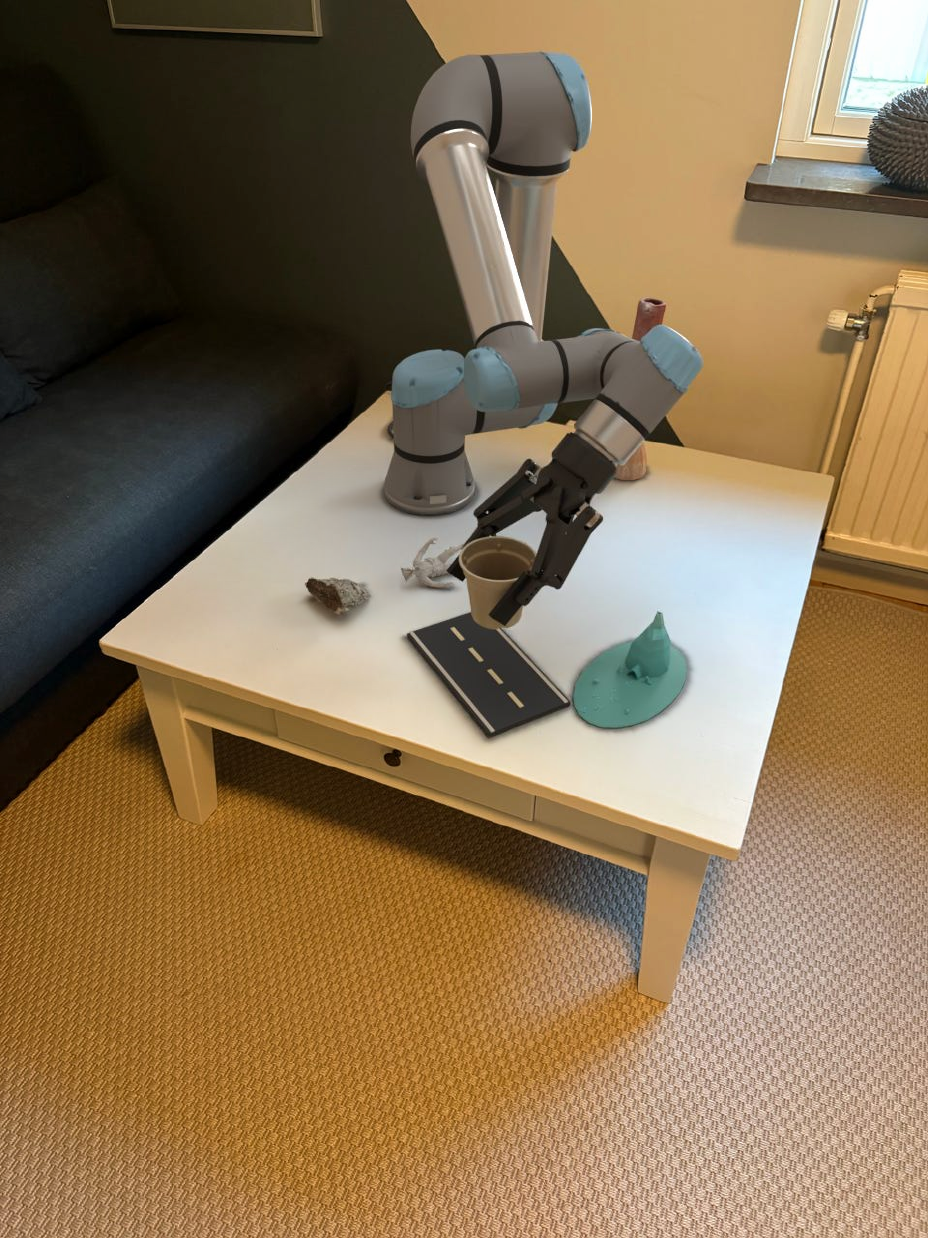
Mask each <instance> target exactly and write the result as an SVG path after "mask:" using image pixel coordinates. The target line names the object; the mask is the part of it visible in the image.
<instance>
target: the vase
mask: <svg viewBox="0 0 928 1238" xmlns="http://www.w3.org/2000/svg"><path fill="white" fill-rule="evenodd" d="M666 308H667V303H666V302H665V301H663V300H662V299H658V298H653V297H646V296H645V297H642V298H640V299H639V300H638V302H637V308H636V315H635V319H634V325H633V331H632V335H631V339H634V340H636V341H641V338H642V337H643V336H645V335H646V334H647V333H648V332H649V331H650V330H651V329H652V328H653V327H655V326H657V325H663V322H664V317H665V312H666ZM647 457H648V456H647V450H646V447H645V440H644V441H643V443H642V444H641V445H640V446H639V448H638V449H637V450H636V451H635V452H634V454H633V455H632V456H631V457H630V458H629V460H628V461H627V462H626V463H625V464H624V465H622V466H620V465H617V466H616V469H617V470H618V471H617V475H616V476H615V477H614V478H613V479H617V480H620V481H635V480H638V479H642V478H643V477H644V475H645V474H646V473H647V461H648V458H647Z"/></svg>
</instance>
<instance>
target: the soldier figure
mask: <svg viewBox="0 0 928 1238" xmlns="http://www.w3.org/2000/svg"><path fill="white" fill-rule="evenodd" d="M435 541H438V537H432V538H430V539H429V540H428V541H427V542H425V543H424V545H423V546H422V547H421V548H420V549H419V550H418V552H417V554H416V555H415V557H414V559H413V561H412V567H402V566H401V567H400V570H401V573H402V577H403V578H404V581H405V582H406V583H408V581H409V580H410V579H411V578H412V577H413V575H414V576H415V578H417V579H418V581H419V582H421V583H423V584H425V585H426V586H429V587H431V588H437V589H441V588H453V587H455V583H454V582H453V581H449V582H445V583H444V582H440V581H434V580H432V579H431V578H435V577H439V576H441V575H447V574H449V573H448V572H447V571H446V570H447V569H448V568H449V566H450V565H451V564H452V563H448V564H445V563H446V562H447V561H448V560H449V559H450V558H451V557H452V556H454V555H455V554H456V553H457V552H458V551H461V550H462V549H463V546H464V543H462V544H460V545H456V546H450V547H449V548H448V549H445V550H443V551H442V552H441V553H440V554H439V555H437V557H435V558H434V557H433V558H432V557H426V558H424V560H423V557H424V555H426V553H427V551H428V550H429V548H430V545H436V544H437V543H436V542H435Z"/></svg>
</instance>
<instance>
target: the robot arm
mask: <svg viewBox="0 0 928 1238" xmlns="http://www.w3.org/2000/svg"><path fill="white" fill-rule="evenodd" d="M591 98H592V97H591V93H590V88H589V84H588V81H587V77H586V75H585V73H584V70H583V68H582V66H581V65H580V63H579V62H578V61H577V59H576V58H574V57H573V56H571V55H570V54H568V53H562V52H561V53H560V52H558V53H557V52H546V51H543V50H541V51H540V50H539V51H529V52H528V51H527V52H512V53H511V52H510V53H495V54H465V55H460V56H458V57H455V58H453V59H450V60H449V61H447V62H445V63H444V64H443V65H441V66H440V67H439V68H438V69H436V71H434V73H433V74H432V75H431V77H430V78H429V79H428V81H427V82H426V83H425V84H424V86H423V88H422V90H421V92H420V94H419V96H418V99H417V101H416V104H415V106H414V110H413V113H412V118H411V125H410V144H411V153H412V157H413V161H414V165H415V169H416V172H417V174H418V176H419V177H420V179H422V180H423V181H424V182H425V183H427V184H428V186H429V189H430V193H431V197H432V201H433V203H434V208H435V210H436V213H437V217H438V221H439V225H440V229H441V231H442V235H443V239H444V242H445V245H446V249H447V252H448V256H449V260H450V263H451V267H452V270H453V274H454V277H455V281H456V283H457V288H458V291H459V295H460V298H461V302H462V306H463V308H464V312H465V316H466V319H467V322H468V323H467V324H468V326H469V327H468V328H469V331H470V334H471V337H472V340H473V344H474V349H471V350H469V351H468V352H467V354H466V355H465V357H464V356H463V355H462V354H461V353H460V352H457V351H454V350H450V349H447V350H442V349H439V348H438V349H430V350H425V351H424V350H423V351H420V352H416V353H414V354H411V355H410V356H409V355H408V356H407V357H405V358H404V359H403V360H401V361H400V363H398V364H397V366H396V367H394V370H393V373H392V380H391V381H388V382H387V383H386V384H385V387H386V388H389V387H391V392H390V400H391V404H392V405H391V406H392V421H391V422H390V423H389V424H388V426H387V430H386V431H387V434H388V436H389V437H390V438H391V439H393V453H392V456H391V460H390V462H389V467H388V469H387V472H386V475H385V477H384V484H383V485H384V496H385V498H386V500H387V501H388V503H389V504H390V505H391V506H393V507H395V508H396V509H398V510H401V511H403V512H406V513H410V514H414V515H420V516H438V515H445V514H449V513H453V512H456V511H459V510H461V509H463V508H464V507H466V506H467V505H469V504H470V503H471V502H472V500H473V499H474V497H475V491H476V490H475V489H476V487H475V486H476V484H475V478H474V474H473V471H472V469H471V465H470V463H469V460H468V457H467V453H466V450H465V446H466V445H465V443H466V436H471V435H477V434H485V433H490V432H491V433H493V432H498V431H499V432H500V431H506V430H512V429H521V430H522V429H526V428H529V427H531V426H536V425H541V424H543V423H545V422H547V421H548V420H549V419H551V417H552V416H553V414H554V413H555V411H556V409H557V407H558V405H559V404H564V403H571V402H580V401H586V400H593V401H592V402H591V403H590V404H589V405H588V406H587V408H586V409H585V410H584V412H583V413H582V414H581V415H580V416H579V417H578V419H577V420H576V421H575V422H574V423H573V429H574V432H572V431H571V432H570V431H569V432H567V433H566V434H565V435H564V436H563V438H562V439H561V440H560V441H559V443H558V444H557V445H556V446H555V448H554V449H553V450H552V451H551V461H550V462H548V464H546V465H545V466H543V467H542V466H540V465H538V464H537V463H536V462H535V461H534V460H533V459H532V458H527V459H525V460H524V461H523V463H522V465H521V466H520V467H519V469H518V471H517V472H516V473H515V474H513V475H512V476H511V477H510V478H509V479H508V480H506V481H505V482H504V483H503V484H502V485H501V486H499V488H497V490H495V491H494V492H493V493H492V494H491V495H490V496H489V497H487V498H486V499H485V500H484V501H483V502H482V503H480V504H479V505H478V506H477V507H476V508H475V509H474V511H473V513H472V515H473V517H474V518H476V521H477V524H476V525H477V526H476V528H475V529H474V531H473V532H472V533H471V535H470V536H469V537H468V539H467V540H466V541H465V542H464V543H463V544H464V546H463V548H464V547H465V546H466V545H467V544H468V543H470V542H472V541H474V540H476V539H480V538H484V537H490V536H498V535H497V534H498V533H500V532H501V531H503V530H506V529H507V528H509V527H511V526H512V525H514V524H515V523H517V522H520V521H521V520H523V519H524V518H526V517H528V516H529V515H531V514H533V513H540V512H542V511H543V512H544V513H545V514H546V516H545V522H546V525H545V527H544V531H543V533H542V536H541V540H540V542H539V546H538V548H537V551H536V553H537V554H536V557H535V560H534V563H533V566H532V569H531V570H529V571H528V570H527V573H526V572H523V573H522V574H521V575H520V576H519V578H518V579H517V580H516V581H515V583H514V584H513V585H512V586H511V587H510V589H509V590H508V591H507V592H506V594H505V595H504V596H503V597H502V598H501V600H500V601H499V602H498V603H497V605H496V606H495V607H494V608H493V609H492V611H491V612H490V613H489V614H488V615H489V616H490V617H491V618H492V619H494V620H496V621H497V622H499V623H501V624H502V625H504V626H506V624H507V623H508V622H509V621H510V620H511V618H512V617H513V616H514V615H515V614H516V612H517V611H518V610H519V609H520V607H521V606H522V605H523V607H527V606H528V605H529V604H530V603H531V602H532V600H533V599H534V598H535V597H536V595H537V594H538V593H539V592H540V591H541V589H543V588H544V587H550V588H554V589H555V590H560V589H561V588H562V587H563V585H564V584H565V582H566V580H567V578H568V576H569V575H570V573H571V571H572V569H573V567H574V565H575V564H576V563H577V560H578V558H579V557H580V555H581V553H582V551H583V549H584V547H585V545H586V544H587V542H588V540H589V539H590V536H591V534H593V532H594V531H596V529H597V528H598V527H599V526H600V525H601V524H602V523H603V521H604V516H603V515H602V514H601V513H600V512H599V511H598V510H596V509H595V508H594V507H593V506H591V503H592V501H593V498H594V497H595V495H600V494H602V493H603V492H604V491H605V490H606V489H607V487H608V486H609V485H610V484H611V482H613V480H614V479H615V478H614V477H615V476H616V475H617V471H618V470H617V469H616V466H617V465H620V466H622V465H624V464H625V463H626V462H627V461H628V460H629V458H630V457H631V456H632V455H633V454H634V452H635V451H636V450H637V449H638V448H639V446H640V445H641V444H642V443H643V441H644V442H645V440H646V439H647V437H649V435H651V433H652V432H653V431H654V430H655V429H656V428H657V426H658V425H660V423H661V422H662V420H663V419H664V418H665V417H666V416H667V414H669V412H670V411H671V410H672V408H674V406H675V405H676V404H677V403H678V401H679V400H680V399H681V398H682V397H683V395H685V394H686V393H687V391H688V390H689V387H690V386H691V384H692V383H693V382H694V380H695V379H696V378H697V376H698V375H699V374H700V372H701V371H702V370H703V367H704V360H703V359H704V358H703V357H702V355H701V353H700V352H699V350H698V349H697V348H696V347H695V346H694V345H693V344H692V343H691V342H690V341H689V340H688V339H687V338H686V337H684V336H683V335H682V334H681V333H679V332H677V330H675V329H673V328H671V327H669V326H667V325H665V324H662V325H657V326H655V327H653V328H652V329H651V330H650V331H649V332H648V333H647V334H646V335H645V336H643V337H642V338H641V341H636V340H634V339H632V337H628V336H626V335H624V334H622V333H621V332H619V331H615V330H614V329H610V328H601V327H600V328H599V327H598V328H597V327H596V328H589V329H586V330H585V331H584V332H581V333H580V334H579V335H578V336H575V337H569V338H568V337H567V338H561V339H547V340H544V339H542V338H543V328H544V318H545V309H546V298H547V290H548V289H547V288H548V278H549V269H550V260H551V259H550V257H551V250H552V249H551V248H552V236H553V229H554V218H555V209H556V208H555V207H556V197H557V188H558V187H557V186H558V181H559V180H561V178H563V177H564V176H565V175H566V174H567V173H568V172H569V170H570V166H571V157H572V152H573V153H575V152H578V151H580V150H582V149H583V148H585V146H586V145H587V143H588V140H589V139H590V135H591V131H592V124H593V123H592V122H593V120H592V119H593V108H592V99H591ZM488 170H489V171H490V172H491V173H492V174H493V175H494V176H495V188H493V185H492V181H491V177H490V174H489V171H488ZM494 189H495V190H494ZM392 430H393V431H392ZM575 516H576V517H575ZM459 555H460V553H459V554H458V555H457V556H456V558H455V559H454V560H453V561H452V562H451V563H450V564H451V565H450V566H449V568H448V569H447V570H446V571H447V572H448V573H447V574H449V575H451V576H452V577H454V578H455V579H457V580H459V581H460V582H462V583H463V582H464V581H465V580H466V577H465V575H464V572H463V569H462V568H461V566H460V564H459Z"/></svg>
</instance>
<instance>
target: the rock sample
mask: <svg viewBox="0 0 928 1238" xmlns="http://www.w3.org/2000/svg"><path fill="white" fill-rule="evenodd" d="M304 586H305V588H306V589H307V591H308V593H309V594H310V595H312V596H313V597H314V598H315V599H316V600H317V601H318V602H320V603H322V605H324V606H325V608H326V609H327V610H329V611H332V612H333V613H334V614H336V615H339V616H340V615H343V614H344V613H345V612H347V611H349V610H352V609H356V607H358V606H359V605H360V604H361V603H362V602H363V603H365V602H366V601H367V600H368V599H369V598H370V597H371V593H369V592H368V591H366V590H365V588H363V587H362V586H361V584H360V583H358V582H356V581H353V580H351V579H349V578H341V579H339V578H335V577H330V578H322V579H321V578H315V577H313V576H310V577H309V578H308V579H307V581H305V582H304Z"/></svg>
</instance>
